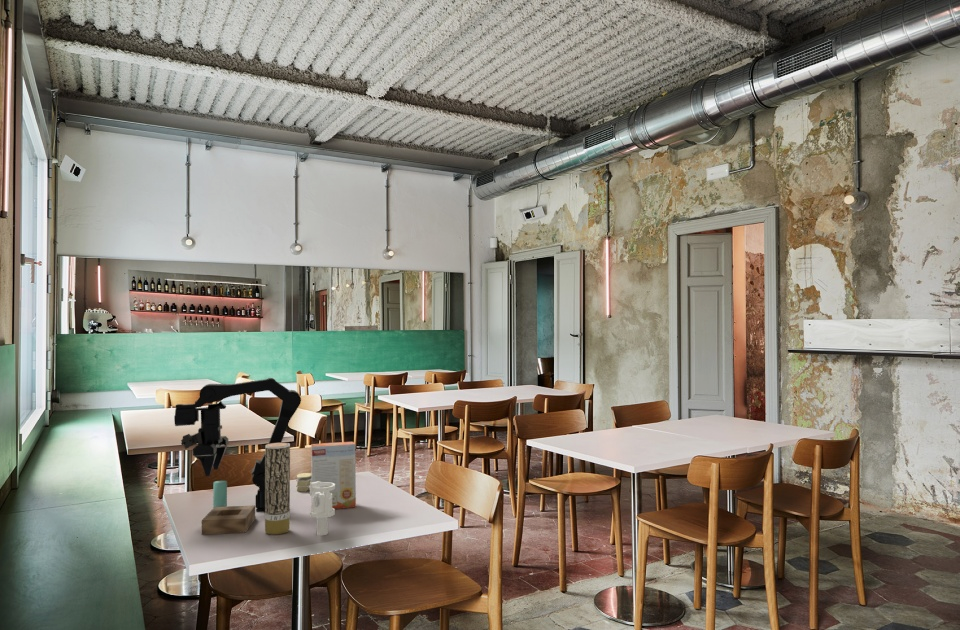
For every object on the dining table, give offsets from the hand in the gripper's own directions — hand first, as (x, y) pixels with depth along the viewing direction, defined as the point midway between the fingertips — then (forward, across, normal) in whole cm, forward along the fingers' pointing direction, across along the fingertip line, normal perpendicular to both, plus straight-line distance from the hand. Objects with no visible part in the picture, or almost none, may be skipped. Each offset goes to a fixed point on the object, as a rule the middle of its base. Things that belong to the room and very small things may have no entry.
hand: (211, 472), depth 206 cm
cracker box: (+14, -2, +37) cm, 40 cm away
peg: (+13, +1, +2) cm, 13 cm away
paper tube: (+14, +23, +24) cm, 36 cm away
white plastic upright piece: (+14, +26, +37) cm, 47 cm away
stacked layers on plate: (+14, -28, +25) cm, 40 cm away
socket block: (+13, +15, +9) cm, 22 cm away
